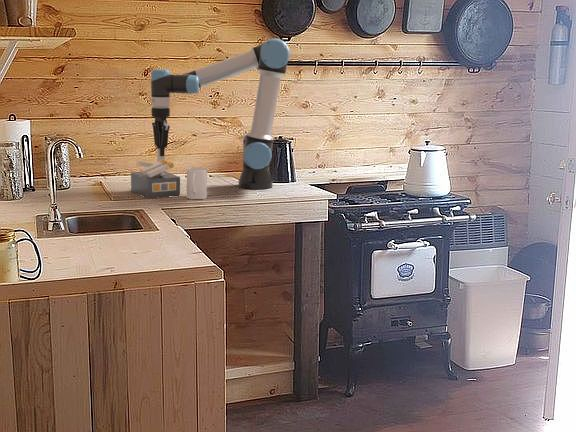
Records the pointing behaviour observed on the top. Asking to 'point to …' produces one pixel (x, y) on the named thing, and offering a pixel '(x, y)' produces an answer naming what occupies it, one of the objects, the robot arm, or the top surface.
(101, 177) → the top surface
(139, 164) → the rocker
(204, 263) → the top surface
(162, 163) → the rocker
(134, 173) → the control box
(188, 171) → the mug
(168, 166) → the rocker
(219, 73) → the robot arm
